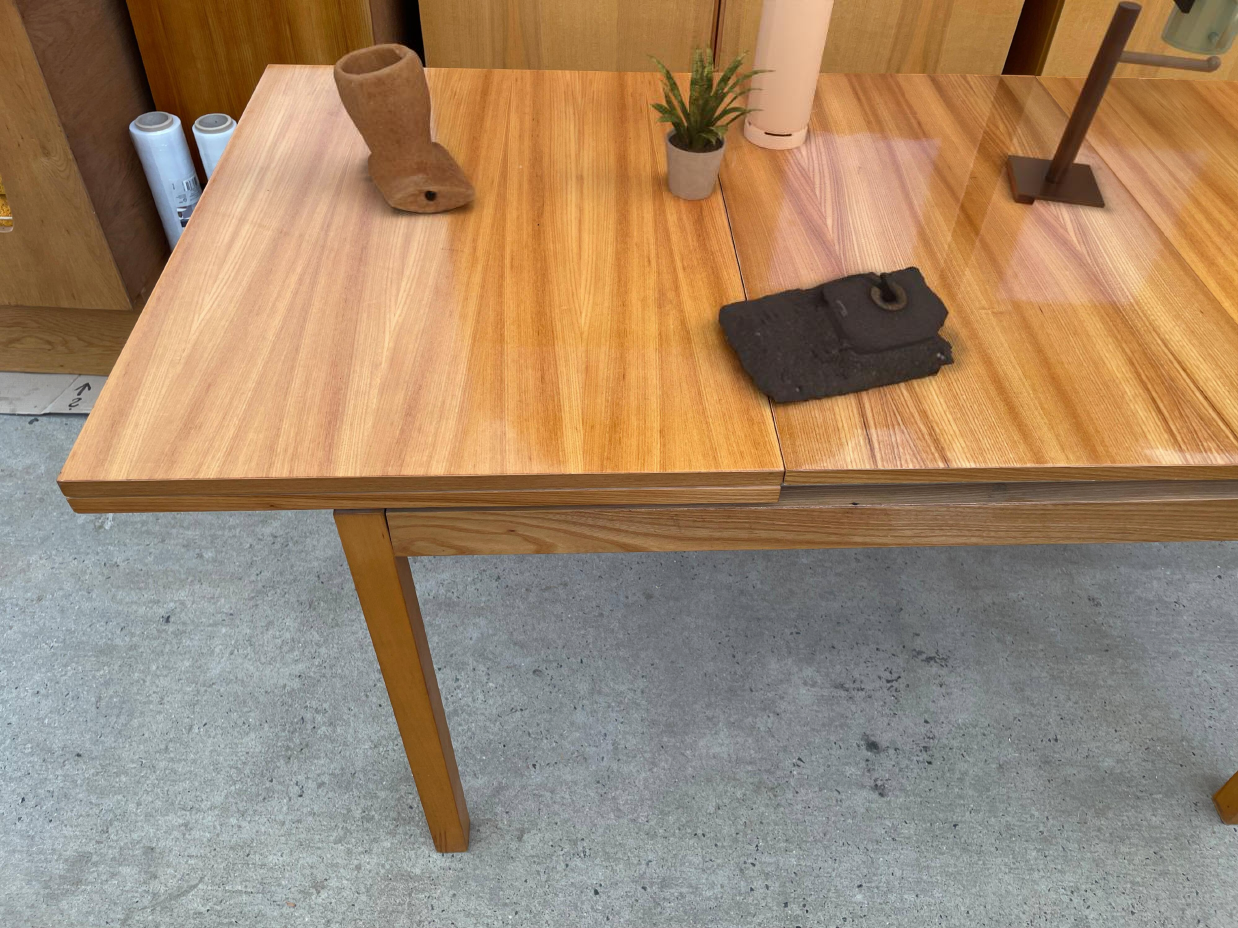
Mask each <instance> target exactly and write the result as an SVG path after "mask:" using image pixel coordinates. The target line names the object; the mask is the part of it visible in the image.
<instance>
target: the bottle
mask: <svg viewBox="0 0 1238 928" xmlns="http://www.w3.org/2000/svg"><path fill="white" fill-rule="evenodd" d="M834 2H835V0H763V2H762V7H761V8H762V9H761V15H760V20H759V26H758V27H759V28H758V33H757V34H758V35H757V41H756V48H755V54H754V61H753V67H752V71H755V70H774V72H766V73H759V74H756V75H754V76H752V77H751V80H750V86H749V88H760V89H763V90H751V91H749V94H748V100H747V106H746V110H749V109H760V110H763V111H752V112H749V113H750V114H749V113H747V114H746V118H745V119H744V126H743V136H744V137H745V139H746V140H748V141H749V142H750V143H751V144H754V145H756V146H758V147H760V148H764V149H769V150H777V151H784V150H792V149H795V148H798V147H800V146H802V145H804V143H805V141H806V139H807V138H806V137H807V133H808V124H809V122H810V119H811V115H812V109H813V104H814V99H815V94H816V90H817V85H818V80H819V75H820V70H821V66H822V60H823V56H824V50H825V46H826V41H827V37H828V36H827V35H828V31H829V27H830V23H831V22H830V21H831V17H832V12H833V7H834ZM778 71H779V72H778ZM766 133H769V134H766ZM771 134H773V135H771ZM777 135H788V136H777Z"/></svg>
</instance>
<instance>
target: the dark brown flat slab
mask: <svg viewBox="0 0 1238 928" xmlns="http://www.w3.org/2000/svg"><path fill="white" fill-rule="evenodd" d="M925 279H926V278H925V277H924V275H923V274H922V272H921V271H920V268H918V267H916V266H908V267H905V268H903V269H901V268H900V269H897V270H892V271H891V272H881V273H880V274H877V273H876V272H874V271H869V272H865V273H863V272H861V273H855V274H850V275H847V276H843V277H840V278H837V279H833V280H830V281H826V282H824V283H821V284H819V285H816V286H813V287H812V288H811V287H810V288H805V289H802V288H795V289H786V290H784V291H779V292H777V293H774V294H773V293H772V294H766V295H764V296H762V297H759V298H754V299H750V300H748V299H745V300H740V301H735V302H731V303H729V304H724V305H722V306H720V308H719V311H718V315H717V316H718V317H717V319H718V323H719V325H720V327H721V328H722V330H723V331H724V333H725V335H726V337H727V342H728V343H729V345H730V346H731V347H732V348H733V350H734V351H735V353H737V356H738V358H739V361H740V363H741V366H742V368H743V369H744V370H745V371H746V372H747V374H748V376H749V377H750V378H751V379H752V380H753V381H754V384H755V385H756V387H757V388H758V389H759V390H761V391H762V392H763V394H765V395H766V396H768V397H770V398H772V399H773V400H774V402H775V403H786V402H789V403H792V402H800V401H801V402H802V401H805V402H808V401H810V400H821V399H823V398H831V397H835V396H845V395H849V394H853V393H857V392H859V393H860V392H862V391H863V392H865V391H869V390H870V389H876V388H881V387H885V386H891V385H893V384H896V383H903V382H906V381H911V380H913V379H918V378H921V379H923V378H926V377H927V376H932V375H935V374H938V373H939V372H940V371H941V368H942V367H943V366H950V365H953V364H955V362H956V361H955V358H954V357H953V355H952V354H953V350H952V349H953V346H952V345H951V342H949V341H948V340H946V339H945V338H944V337H942V335H940V334H939V331H940V329H941V328H943V327H944V326H945V323H946V320H947V318H948V315H950V312H949V310H948V309H947V307H946V305H945V303H944V302H943V300H942V299H941V298H940V297H939V296H938V295H937V293H936V292H934V290H932V288H931V287H930V286H929V285H928V284H927V282H926V280H925Z"/></svg>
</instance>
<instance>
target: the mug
mask: <svg viewBox="0 0 1238 928" xmlns="http://www.w3.org/2000/svg"><path fill="white" fill-rule="evenodd" d="M1237 36H1238V0H1195V2H1194V4H1193V6H1192V8H1191V10H1190V12H1189V14H1186V13H1182V12H1181V11H1180V9H1179V8H1178V6H1177V5H1176V3H1175V2H1174V5H1173V7H1172V9H1171V11H1170V13H1169V16H1168V17H1167V20H1166V22H1165V23H1164V26H1163V28H1162V30H1161V33H1160V39H1161V40H1162V41H1163V43H1165V44H1166V45H1168V46H1169V47H1172V48H1174V49H1176V50H1180V51H1183V52H1186V53H1190V54H1195V55H1201V56H1222V55H1224V54H1225V55H1226V54H1227V53H1229V51H1230V50H1231V48H1232V46H1233V44H1234V42H1235V40H1236V39H1237Z"/></svg>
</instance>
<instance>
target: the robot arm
mask: <svg viewBox="0 0 1238 928" xmlns="http://www.w3.org/2000/svg"><path fill="white" fill-rule="evenodd" d="M1172 1H1173V2H1174V4H1175V3H1176V5H1177V6H1178V8H1179V9H1180V11H1181V12H1182V13H1186V14H1189V12H1190V10H1191V8H1192V6H1193V4H1194V2H1195V0H1172Z"/></svg>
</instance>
